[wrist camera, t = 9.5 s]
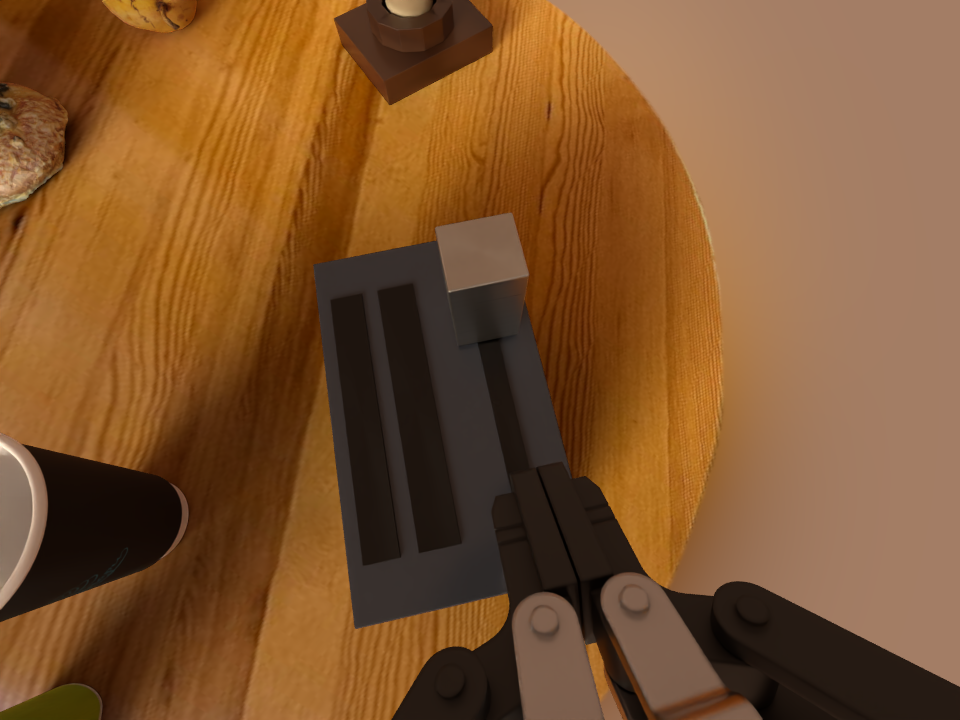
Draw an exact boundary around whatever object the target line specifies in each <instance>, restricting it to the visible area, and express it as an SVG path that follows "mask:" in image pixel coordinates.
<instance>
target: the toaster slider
mask: <svg viewBox="0 0 960 720" xmlns="http://www.w3.org/2000/svg"><path fill="white" fill-rule="evenodd" d="M435 233H436V238H437V243H438V248H439V254H440V259H441V264H442V269H443V275H444V280H445V285H446V290H447V295H448V300H449V305H450V310H451V315H452V319H453V324H454V329H455V334H456V338H457V343H458V346H462V345H467V344H472V343H477V342H482V341H486V340H491V339H496V338H501V337H506V336H511V335H515V334H518V331H519V326H520V321H521V316H522V311H523V305H524V300H525V295H526V290H527V285H528V279H529V272H528V268H527V264H526V261H525V257H524V253H523V250H522V246H521V243H520V239H519V235H518V232H517V228H516V224H515V221H514V217H513V214H512V213H505V214H500V215H495V216H490V217H485V218H479V219H474V220H469V221H464V222H459V223H453V224H448V225H443V226H438V227H435Z"/></svg>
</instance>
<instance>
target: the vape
mask: <svg viewBox="0 0 960 720" xmlns="http://www.w3.org/2000/svg"><path fill="white" fill-rule="evenodd" d="M102 708H103V706H102V700H101V697H100V695H99V694H98V693H97V691H95V690H94V689H93V688H91V687H89V686H87V685H84V684H77V683H73V684H66V685H62V686H59V687H57V688H54V689H52V690H50V691H47V692H45V693H43V694H41V695H38V696H36V697H34V698H31V699H29V700H27V701H25V702H22V703H20V704H18V705H15V706H13V707H11V708H9V709H6V710H4V711H2V712H0V720H101V715H102Z"/></svg>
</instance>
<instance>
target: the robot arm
mask: <svg viewBox="0 0 960 720" xmlns="http://www.w3.org/2000/svg"><path fill="white" fill-rule="evenodd" d="M509 474H510V481H511V487H512V492H511V493H507V494H502V495H498V496H495V499H494V503H493V507H492V510H491V515H492V520H493V525H494V529H495V534H496V539H497V544H498V549H499V554H500V559H501V563H502V568H503V573H504V578H505V582H506V587H507V592H508V597H509V603H510V604H509V613H508V617H507V620H506V622H505V624H504V626H503V627H502V629H501V630H500V631H499V632H498V633H497V634H496V635H495V636H494V637H493V638H492V639H490V640H489V641H487V642H486V643H484V644H483V645H481V646H480V647H478V648H477V649H475V650H474V651H471V650H469V649H467V648H464V647H448V648H445V649H443V650H441V651H439V652H437V653H436V654H434V655H433V656H432V657H431V658H430V659H429V660H428V661H427V662H426V664H425V665H424V667H423V668H422V670H421V671H420V673H419V675H418V676H417V678H416V680H415V681H414V683H413V685H412V686H411V688H410V690H409V691H408V693H407V695H406V696H405V698H404V700H403V701H402V703H401V705H400V706H399V708H398V710H397V711H396V713H395V715H394V716H393V718H392V720H605V719H604V716H603V712H602V708H601V705H600V701H599V697H598V693H597V689H596V685H595V682H594V678H593V674H592V670H591V666H590V663H589V659H588V655H587V651H586V647H585V644H586V645H587V644H591V643H596V642H597V645H598V648H599V650H600V653H601V656H602V659H603V661H604V674H605V678H606V681H607V684H608V686H609V688H610V691H611V693H612V695H613V698H614V700H615V702H616V704H617V707H618V709H619V711H620V714H621V715H622V718H623V720H960V687H959V686H957V685H955V684H953V683H951V682H949V681H947V680H945V679H943V678H941V677H939V676H937V675H935V674H933V673H931V672H929V671H927V670H925V669H923V668H921V667H919V666H917V665H915V664H913V663H911V662H909V661H907V660H905V659H903V658H901V657H899V656H897V655H895V654H893V653H891V652H889V651H887V650H885V649H883V648H881V647H879V646H877V645H876V644H874V643H872V642H869V641H867V640H866V639H864V638H862V637H860V636H857V635H855V634H854V633H852V632H850V631H848V630H846V629H844V628H842V627H840V626H838V625H836V624H834V623H832V622H830V621H828V620H826V619H824V618H822V617H820V616H818V615H816V614H814V613H812V612H810V611H808V610H806V609H804V608H802V607H800V606H798V605H796V604H794V603H792V602H790V601H788V600H786V599H784V598H782V597H780V596H778V595H776V594H774V593H772V592H770V591H768V590H766V589H764V588H762V587H760V586H758V585H755V584H752V583H748V582H739V581H736V582H730V583H726V584H724V585H722V586H721V587H719V588H718V589H717V591H716V592H715V594H714V596H706V595H695V594H685V593H678V592H675V591H671V590H669V589H666V588H664V587H662V586H661V585H659V584H657V583H656V582H655V581H653V580H652V579H651V578H650V577H649V576H648V575H647V574H646V572H645V571H644V570H643V568H642V567H641V565H640V563H639V561H638V559H637V557H636V555H635V553H634V551H633V550H632V548H631V546H630V544H629V542H628V540H627V538H626V536H625V534H624V533H623V531H622V529H621V527H620V525H619V523H618V521H617V519H615V516H614V514H613V512H612V510H611V508H610V506H608V502H607V501H606V499H605V497H604V495H603V493H602V491H601V489H600V488H599V487H598V486H597V485H596V484H595V483H593V482H592V481H591V480H590V479H588V478H587V477H586V476H583V477H578V478H574V479H570V476H569V474H568V472H567V470H566V468H565V466H564V464H563V462H562V461H561V462H556V463H552V464H547V465H543V466H538V467H536V469H535V467H534V468H530V469H525V470H520V471H516V472H511V473H509ZM583 638H584V640H583ZM584 641H585V644H584Z"/></svg>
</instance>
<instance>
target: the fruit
mask: <svg viewBox="0 0 960 720" xmlns="http://www.w3.org/2000/svg"><path fill="white" fill-rule="evenodd" d="M102 1H103V3H104V5H105V6H106V7H107V8H108V9H109V10H110V11H111V12H112V13H113V14H114V15H115V16H117V17H118V18H119V19H120V20H122V21H123V22H125V23H126V24H128V25H130V26H133V27H136V28H140V29H145V30H150V31H155V32H160V33H169V32H173V31H177V30H180V29H183V28H185V27H186V26H187V25H189V24H190V23H191V22H192V20H193V18H194V16H195V12H196V6H197V0H102Z"/></svg>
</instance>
